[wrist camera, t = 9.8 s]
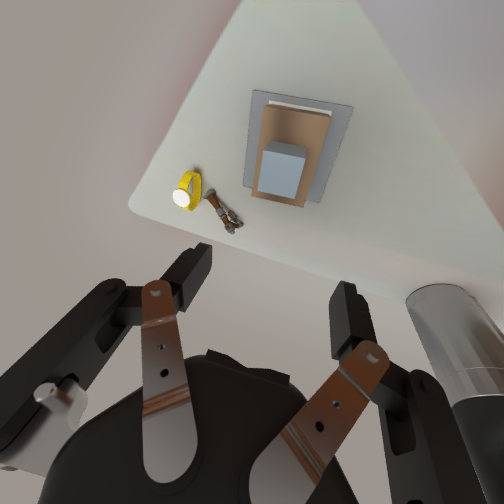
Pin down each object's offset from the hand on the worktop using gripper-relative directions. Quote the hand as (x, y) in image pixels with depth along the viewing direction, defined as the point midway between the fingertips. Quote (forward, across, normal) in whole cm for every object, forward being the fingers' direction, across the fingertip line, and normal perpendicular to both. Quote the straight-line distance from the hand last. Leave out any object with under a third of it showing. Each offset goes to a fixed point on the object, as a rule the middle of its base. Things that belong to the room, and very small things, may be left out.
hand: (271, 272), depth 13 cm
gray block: (+16, +2, -2) cm, 17 cm away
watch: (+23, +16, +6) cm, 28 cm away
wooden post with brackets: (+23, +10, +8) cm, 26 cm away
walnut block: (+22, +2, -2) cm, 22 cm away
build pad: (+23, +2, -2) cm, 23 cm away
